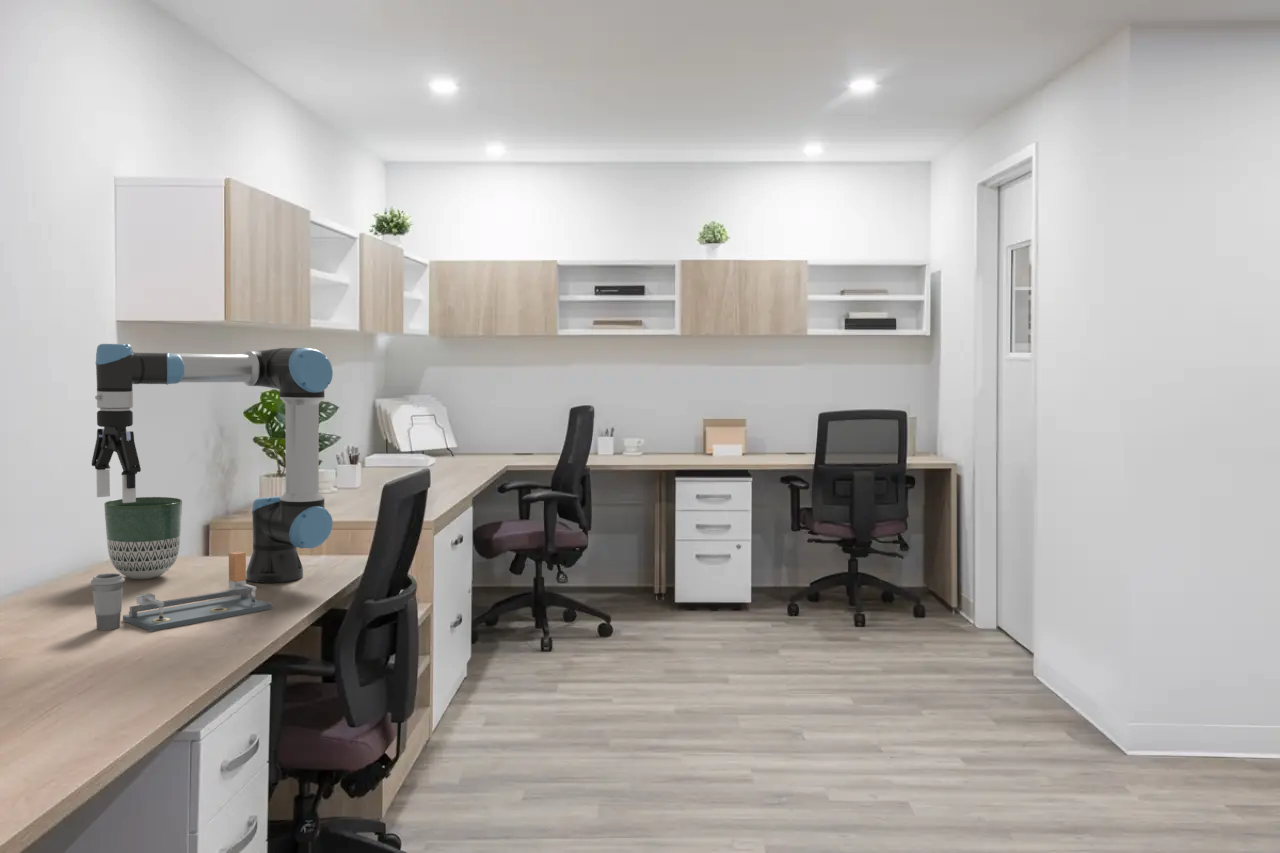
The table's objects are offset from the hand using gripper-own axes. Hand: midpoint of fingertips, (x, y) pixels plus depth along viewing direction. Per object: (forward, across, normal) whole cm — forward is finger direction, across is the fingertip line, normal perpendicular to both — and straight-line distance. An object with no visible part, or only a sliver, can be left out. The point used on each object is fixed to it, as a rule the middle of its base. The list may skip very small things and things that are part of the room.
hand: (116, 499), depth 246 cm
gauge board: (+28, +12, +14) cm, 34 cm away
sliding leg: (+26, +11, +26) cm, 39 cm away
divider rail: (+27, +11, +14) cm, 32 cm away
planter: (+28, -38, +24) cm, 53 cm away
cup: (+28, +9, -6) cm, 30 cm away
